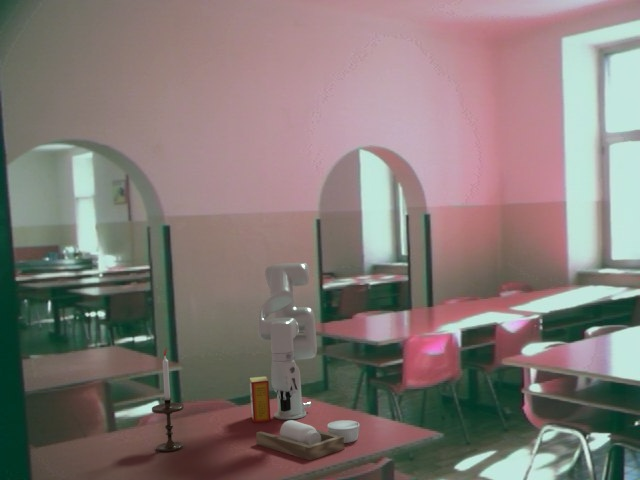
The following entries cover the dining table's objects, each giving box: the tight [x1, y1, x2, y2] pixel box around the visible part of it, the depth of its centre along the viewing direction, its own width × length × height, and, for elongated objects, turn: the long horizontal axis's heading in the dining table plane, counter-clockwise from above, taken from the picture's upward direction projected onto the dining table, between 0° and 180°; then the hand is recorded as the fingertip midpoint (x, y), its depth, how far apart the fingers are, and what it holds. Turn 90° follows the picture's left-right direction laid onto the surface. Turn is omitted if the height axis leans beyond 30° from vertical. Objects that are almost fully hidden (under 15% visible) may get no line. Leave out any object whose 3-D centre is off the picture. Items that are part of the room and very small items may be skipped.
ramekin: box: [326, 419, 361, 444], centre depth 245 cm, size 11×11×5 cm
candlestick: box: [151, 347, 185, 453], centre depth 246 cm, size 11×11×35 cm
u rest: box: [255, 429, 345, 461], centre depth 239 cm, size 15×28×4 cm, turn 42°
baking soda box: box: [248, 376, 272, 424], centre depth 278 cm, size 10×6×16 cm
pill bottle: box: [279, 419, 321, 445], centre depth 238 cm, size 8×8×15 cm
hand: (285, 410), depth 244 cm, fingers closed
